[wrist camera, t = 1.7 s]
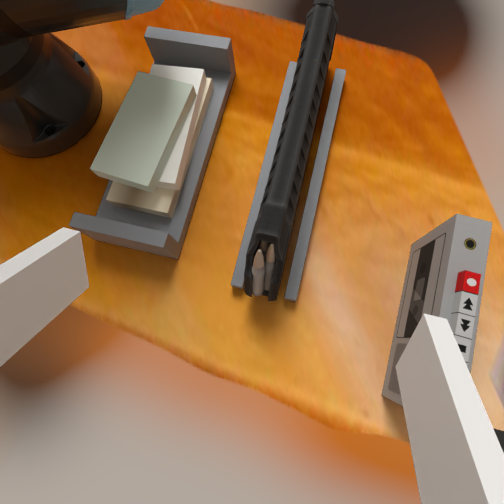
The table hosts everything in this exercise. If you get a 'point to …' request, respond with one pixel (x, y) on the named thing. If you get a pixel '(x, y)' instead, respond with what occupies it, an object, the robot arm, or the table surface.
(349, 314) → the table surface
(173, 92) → the offcut
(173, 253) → the rack
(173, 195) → the offcut
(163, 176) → the offcut
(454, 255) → the cassette player
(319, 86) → the magazine
